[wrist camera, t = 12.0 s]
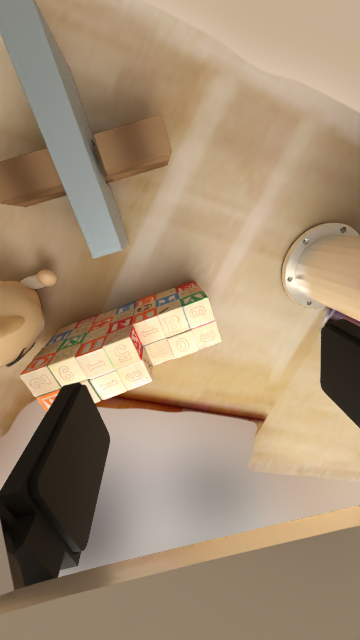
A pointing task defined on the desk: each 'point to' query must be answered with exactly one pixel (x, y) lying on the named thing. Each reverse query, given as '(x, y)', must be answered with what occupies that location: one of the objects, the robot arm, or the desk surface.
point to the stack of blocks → (123, 345)
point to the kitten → (21, 315)
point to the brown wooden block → (112, 152)
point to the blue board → (62, 123)
